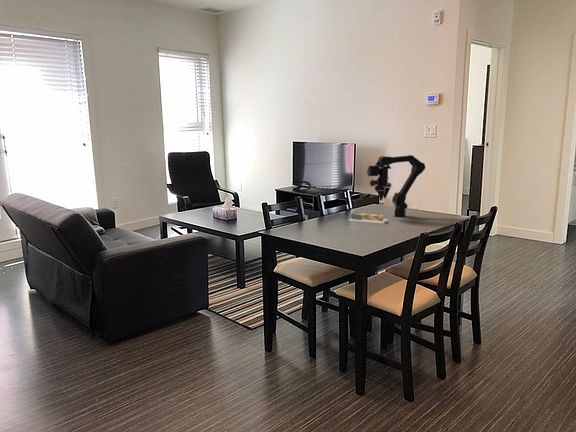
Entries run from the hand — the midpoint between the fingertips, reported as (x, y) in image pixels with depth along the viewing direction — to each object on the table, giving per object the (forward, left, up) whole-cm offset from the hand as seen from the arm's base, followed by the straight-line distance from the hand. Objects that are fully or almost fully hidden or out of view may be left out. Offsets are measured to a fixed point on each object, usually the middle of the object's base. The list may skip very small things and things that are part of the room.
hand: (382, 199), depth 304 cm
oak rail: (+5, +15, -11) cm, 19 cm away
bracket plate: (+5, +15, -12) cm, 20 cm away
